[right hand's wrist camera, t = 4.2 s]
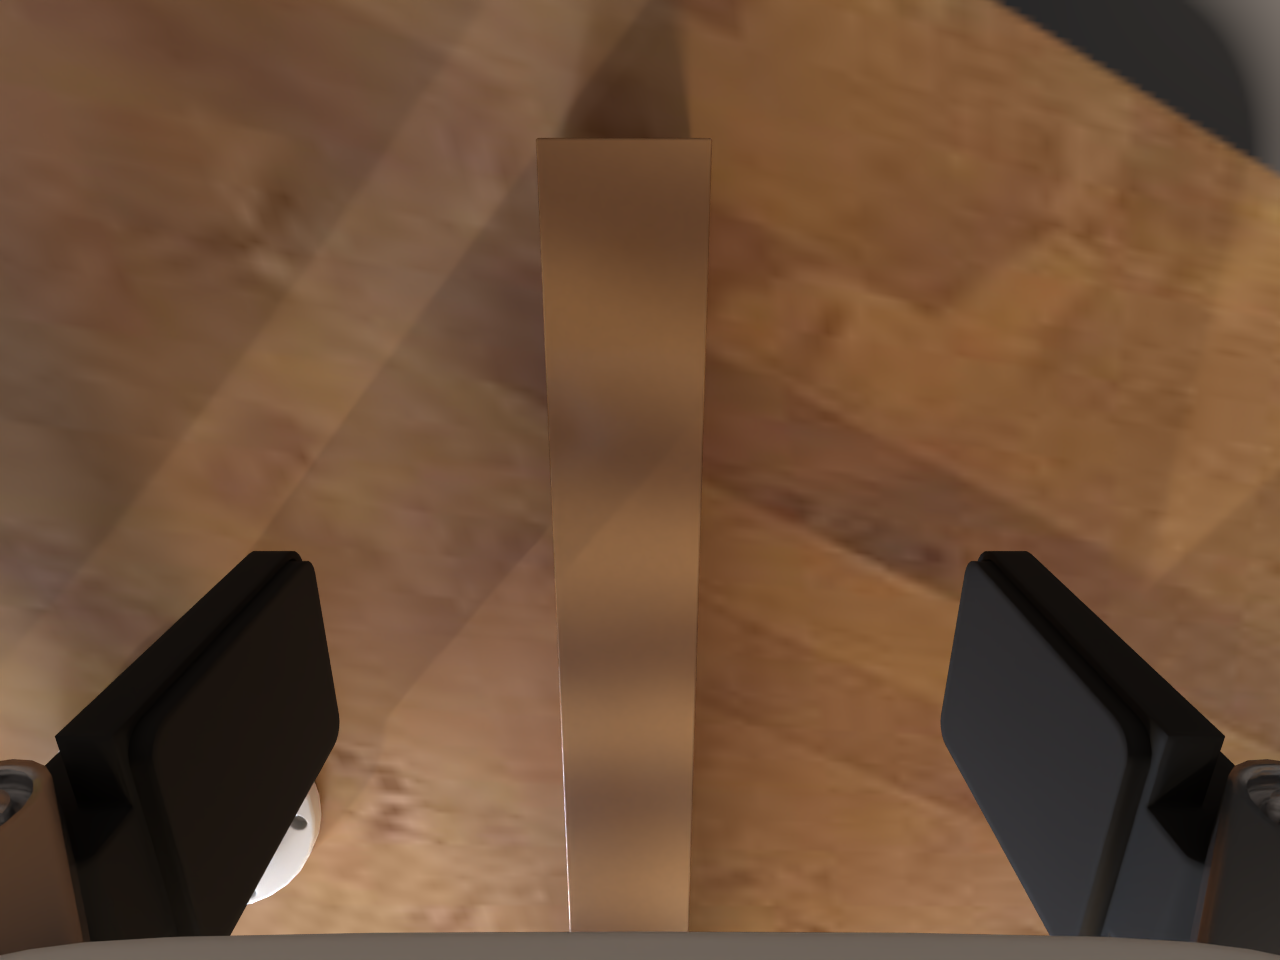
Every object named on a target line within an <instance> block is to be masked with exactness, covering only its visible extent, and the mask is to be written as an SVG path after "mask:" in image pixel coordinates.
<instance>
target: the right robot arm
mask: <svg viewBox="0 0 1280 960" xmlns="http://www.w3.org/2000/svg"><path fill="white" fill-rule="evenodd" d="M338 731H339V713H338V707H337V701H336V695H335V689H334V683H333V677H332V671H331V665H330V659H329V653H328V647H327V641H326V635H325V629H324V623H323V617H322V611H321V605H320V599H319V593H318V588H317V582H316V576H315V571H314V567H313V565H312V563H310V562H309V561H302V559H301V557H300V555H299V554H298V553H297V552H295V551H253V552H251V553H250V554H248V555H247V556H246V557H245V558H244V559H243V560H242V561H241V562H240V563H239V564H238V565H237V566H236V567H234V568H233V569H232V570H231V571H230V572H229V573H228V574H227V575H226V576H225V577H224V578H223V579H222V580H221V581H220V582H219V583H217V584H216V585H215V586H214V587H213V588H212V589H211V590H210V591H209V592H208V593H207V594H206V595H205V596H204V597H203V598H201V599H200V600H199V601H198V602H197V603H196V604H195V605H194V606H193V607H192V608H191V609H190V610H189V611H188V612H187V613H186V614H184V615H183V616H182V617H181V618H180V619H179V620H178V621H177V622H176V623H175V624H174V625H173V626H172V627H171V628H170V629H168V630H167V631H166V632H165V633H164V634H163V635H162V636H161V637H160V638H159V639H158V640H157V641H156V642H155V643H154V644H153V645H151V646H150V647H149V648H148V649H147V650H146V651H145V652H144V653H143V654H142V655H141V656H140V657H139V658H138V659H137V660H136V661H134V662H133V663H132V664H131V665H130V666H129V667H128V668H127V669H126V670H125V671H124V672H123V673H122V674H121V675H120V676H118V677H117V678H116V679H115V680H114V681H113V682H112V683H111V684H110V685H109V686H108V687H107V688H106V689H105V690H104V691H103V692H101V693H100V694H99V695H98V696H97V697H96V698H95V699H94V700H93V701H92V702H91V703H90V704H89V705H88V706H87V707H85V708H84V709H83V710H82V711H81V712H80V713H79V714H78V715H77V716H76V717H75V718H74V719H73V720H72V721H71V722H70V723H68V724H67V725H66V726H65V727H64V728H63V729H62V730H61V731H60V732H59V733H58V734H57V735H56V736H55V738H56V741H57V744H58V747H59V751H58V753H57V755H55V756H54V757H53V758H52V759H51V760H50V761H49V762H48V763H47V764H46V765H45V766H44V765H42V764H39V763H37V762H34V761H32V760H16V759H11V760H4V761H0V960H1280V761H1276V760H1269V759H1264V760H1248V761H1246V762H1243V763H1241V764H1238V765H1236V766H1235V765H1234V764H1233V763H1232V762H1231V761H1230V760H1229V759H1228V758H1227V757H1226V756H1225V755H1223V754H1222V753H1221V752H1220V750H1221V747H1222V744H1223V741H1224V738H1225V736H1224V735H1223V734H1222V733H1221V732H1220V731H1219V730H1218V729H1217V728H1216V727H1215V726H1214V725H1213V724H1212V723H1210V722H1209V721H1208V720H1207V719H1206V718H1205V717H1204V716H1203V715H1202V714H1201V713H1200V712H1199V711H1198V710H1197V709H1196V708H1195V707H1193V706H1192V705H1191V704H1190V703H1189V702H1188V701H1187V700H1186V699H1185V698H1184V697H1183V696H1182V695H1181V694H1180V693H1179V692H1177V691H1176V690H1175V689H1174V688H1173V687H1172V686H1171V685H1170V684H1169V683H1168V682H1167V681H1166V680H1165V679H1164V678H1163V677H1162V676H1160V675H1159V674H1158V673H1157V672H1156V671H1155V670H1154V669H1153V668H1152V667H1151V666H1150V665H1149V664H1148V663H1147V662H1146V661H1144V660H1143V659H1142V658H1141V657H1140V656H1139V655H1138V654H1137V653H1136V652H1135V651H1134V650H1133V649H1132V648H1131V647H1130V646H1129V645H1127V644H1126V643H1125V642H1124V641H1123V640H1122V639H1121V638H1120V637H1119V636H1118V635H1117V634H1116V633H1115V632H1114V631H1113V630H1112V629H1110V628H1109V627H1108V626H1107V625H1106V624H1105V623H1104V622H1103V621H1102V620H1101V619H1100V618H1099V617H1098V616H1097V615H1096V614H1094V613H1093V612H1092V611H1091V610H1090V609H1089V608H1088V607H1087V606H1086V605H1085V604H1084V603H1083V602H1082V601H1081V600H1080V599H1079V598H1077V597H1076V596H1075V595H1074V594H1073V593H1072V592H1071V591H1070V590H1069V589H1068V588H1067V587H1066V586H1065V585H1064V584H1063V583H1061V582H1060V581H1059V580H1058V579H1057V578H1056V577H1055V576H1054V575H1053V574H1052V573H1051V572H1050V571H1049V570H1048V569H1047V568H1046V567H1044V566H1043V565H1042V564H1041V563H1040V562H1039V561H1038V560H1037V559H1036V558H1035V557H1034V556H1033V555H1032V554H1030V553H1029V552H1027V551H985V552H983V553H982V554H981V555H980V557H979V559H978V561H971V562H970V563H968V565H967V567H966V571H965V576H964V582H963V588H962V593H961V599H960V605H959V611H958V617H957V623H956V629H955V635H954V641H953V647H952V653H951V659H950V665H949V671H948V677H947V683H946V689H945V695H944V701H943V707H942V713H941V731H942V736H943V740H944V742H945V745H946V747H947V748H948V750H949V752H950V754H951V756H952V758H953V759H954V761H955V763H956V765H957V767H958V769H959V770H960V772H961V774H962V776H963V778H964V779H965V781H966V783H967V785H968V787H969V789H970V790H971V792H972V794H973V796H974V798H975V800H976V801H977V803H978V805H979V807H980V809H981V811H982V812H983V814H984V816H985V818H986V820H987V822H988V823H989V825H990V827H991V829H992V831H993V832H994V834H995V836H996V838H997V840H998V842H999V843H1000V845H1001V847H1002V849H1003V851H1004V853H1005V854H1006V856H1007V858H1008V860H1009V862H1010V864H1011V865H1012V867H1013V869H1014V871H1015V873H1016V875H1017V876H1018V878H1019V880H1020V882H1021V884H1022V885H1023V887H1024V889H1025V891H1026V893H1027V895H1028V896H1029V898H1030V900H1031V902H1032V904H1033V906H1034V907H1035V909H1036V911H1037V913H1038V915H1039V917H1040V918H1041V920H1042V922H1043V924H1044V926H1045V928H1046V929H1047V931H1048V933H1049V935H1050V936H1036V935H986V934H936V933H826V932H454V933H344V934H294V935H244V936H230V935H231V933H232V931H233V929H234V928H235V926H236V924H237V922H238V920H239V918H240V917H241V915H242V913H243V911H244V909H245V907H246V906H247V904H251V903H254V902H256V901H259V900H261V899H263V898H266V897H268V896H270V895H272V894H274V893H275V892H277V891H278V890H280V889H281V888H283V887H284V886H286V885H287V884H288V883H289V882H290V881H291V880H292V879H293V878H294V877H295V876H296V875H297V874H298V873H299V872H300V871H301V869H302V867H303V866H304V864H305V862H306V860H307V859H308V857H309V855H310V853H311V851H312V849H313V847H314V844H315V842H316V839H317V837H318V835H319V830H320V823H321V816H322V813H321V804H320V795H319V793H318V790H317V787H316V784H315V779H316V778H317V776H318V774H319V772H320V770H321V769H322V767H323V765H324V763H325V761H326V759H327V758H328V756H329V754H330V752H331V750H332V748H333V747H334V745H335V742H336V740H337V736H338Z"/></svg>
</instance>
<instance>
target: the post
mask: <svg viewBox="0 0 1280 960" xmlns="http://www.w3.org/2000/svg"><path fill="white" fill-rule="evenodd" d="M536 151H537V174H538V198H539V221H540V245H541V268H542V292H543V315H544V339H545V362H546V386H547V409H548V433H549V456H550V480H551V503H552V526H553V550H554V573H555V597H556V620H557V644H558V667H559V691H560V714H561V738H562V761H563V785H564V808H565V832H566V855H567V879H568V902H569V926H570V932H689V902H690V868H691V834H692V800H693V766H694V732H695V698H696V664H697V630H698V596H699V562H700V529H701V495H702V461H703V427H704V393H705V359H706V325H707V291H708V257H709V223H710V189H711V155H712V139H711V138H537V139H536Z"/></svg>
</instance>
